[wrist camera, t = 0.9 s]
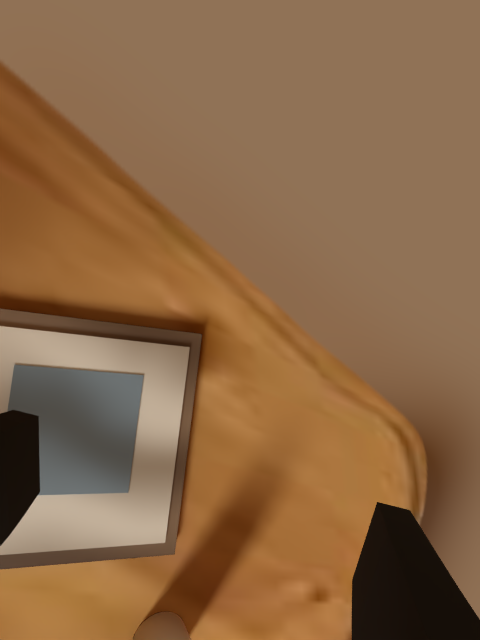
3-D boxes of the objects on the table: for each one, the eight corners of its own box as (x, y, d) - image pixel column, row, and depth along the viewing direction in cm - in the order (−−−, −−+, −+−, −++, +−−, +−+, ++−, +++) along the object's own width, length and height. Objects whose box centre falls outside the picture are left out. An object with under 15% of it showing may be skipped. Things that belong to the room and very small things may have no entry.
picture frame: (170, 547, 24) (180, 565, 22) (-209, 577, 18) (-240, 606, 16) (197, 333, 24) (208, 334, 23) (-158, 289, 18) (-182, 285, 16)
